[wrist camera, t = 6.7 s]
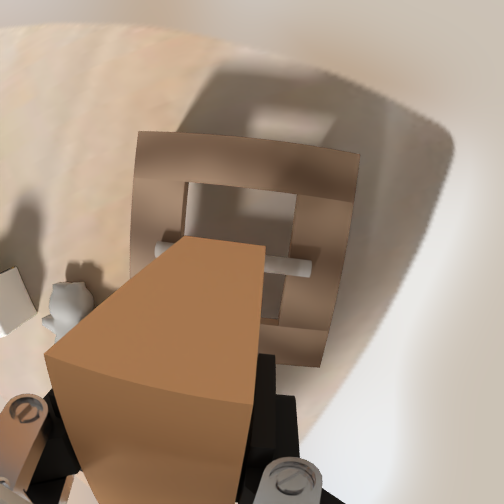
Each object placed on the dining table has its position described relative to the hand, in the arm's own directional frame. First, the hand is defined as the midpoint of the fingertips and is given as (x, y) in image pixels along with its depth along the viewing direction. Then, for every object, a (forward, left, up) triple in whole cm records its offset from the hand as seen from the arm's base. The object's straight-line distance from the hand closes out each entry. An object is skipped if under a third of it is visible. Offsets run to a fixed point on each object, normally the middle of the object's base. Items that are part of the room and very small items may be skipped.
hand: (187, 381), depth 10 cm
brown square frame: (+1, 0, -22) cm, 22 cm away
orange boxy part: (0, 0, -7) cm, 7 cm away
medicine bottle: (-11, +31, -22) cm, 40 cm away
